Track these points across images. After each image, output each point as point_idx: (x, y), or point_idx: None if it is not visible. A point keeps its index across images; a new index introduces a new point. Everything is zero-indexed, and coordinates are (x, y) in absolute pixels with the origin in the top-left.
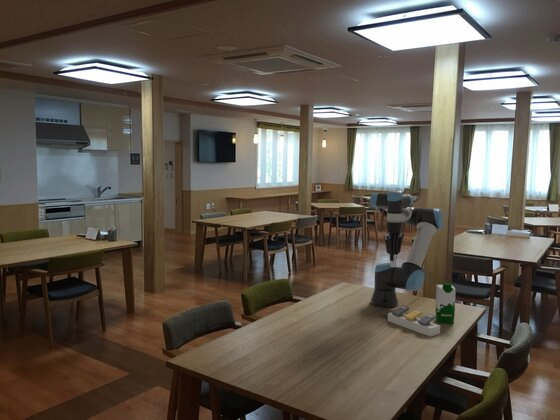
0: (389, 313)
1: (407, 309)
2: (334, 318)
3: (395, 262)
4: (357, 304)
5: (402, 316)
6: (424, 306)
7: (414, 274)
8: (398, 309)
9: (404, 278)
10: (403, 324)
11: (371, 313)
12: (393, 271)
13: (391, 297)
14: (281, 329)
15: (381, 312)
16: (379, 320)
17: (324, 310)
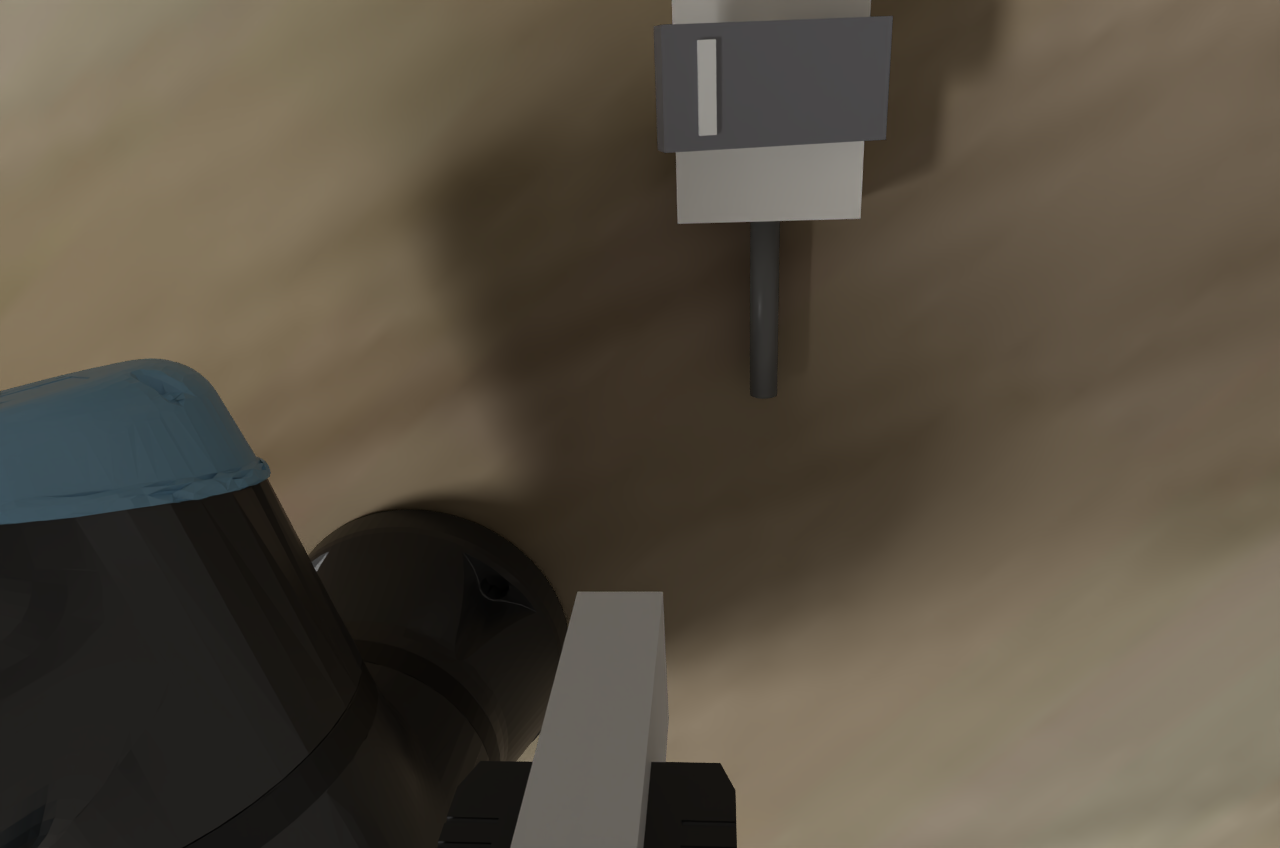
0: (849, 203)
1: (688, 25)
2: (1255, 571)
3: (590, 683)
4: (692, 750)
5: (805, 8)
6: (85, 354)
7: (22, 466)
8: (785, 113)
9: (224, 560)
10: None
11: (792, 487)
12: (254, 821)
13: (407, 585)
14: None
15: (772, 382)
16: (909, 271)
17: (1119, 784)
